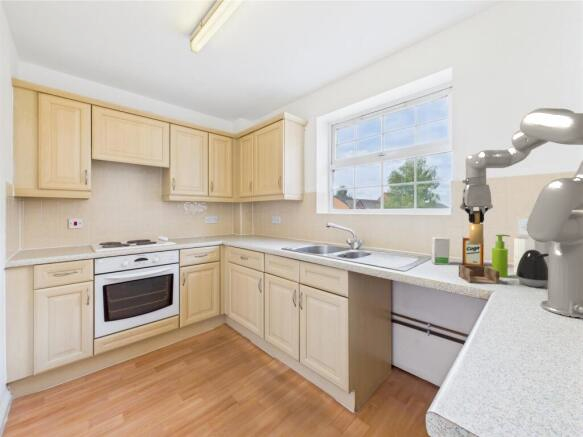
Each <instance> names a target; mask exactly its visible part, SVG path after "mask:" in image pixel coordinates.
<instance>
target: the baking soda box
mask: <svg viewBox="0 0 583 437" xmlns="http://www.w3.org/2000/svg"><path fill="white" fill-rule="evenodd" d="M483 241H485V238H483ZM461 244H462V245H461V246H462V247H461V248H462V251H461V252H462V254H461V255H462V258H461V259H462V265H473V266H484V255H485V254H484V253H485V252H484V250H485V249H484V244H470V243H469V236H462V243H461Z"/></svg>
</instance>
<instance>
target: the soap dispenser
mask: <svg viewBox="0 0 583 437" xmlns="http://www.w3.org/2000/svg"><path fill="white" fill-rule="evenodd" d="M495 237H497V240H496V241H495V245H494V247H492V248H491V268H492V269H495V270H497V271H499V278H508V272H509V271H508V264H509V263H508V262H509V257H508V255H509V249H508V248H505V241H503V237H511V235H508V234H502V233H501V234H495Z"/></svg>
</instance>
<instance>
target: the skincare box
mask: <svg viewBox="0 0 583 437" xmlns="http://www.w3.org/2000/svg"><path fill="white" fill-rule="evenodd" d="M450 242H451V240H450V238H448V237H443V236H442V237H440V236H438V237H437V236H432V237H431V263H432V264H434V265H441V266H442V265H443V266H445V265H446V266H449V265H450Z"/></svg>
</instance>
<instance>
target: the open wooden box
mask: <svg viewBox="0 0 583 437" xmlns="http://www.w3.org/2000/svg"><path fill="white" fill-rule="evenodd" d="M458 277H459V278H461V279H462V280H464V281H466V282H467V283H469V284H483V285H485V284H486V285H487V284H488V285H500V277H499V271H497V270H495V269H492V267H489V266H487V265H483V266H473V265H463V264H459V265H458Z"/></svg>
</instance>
